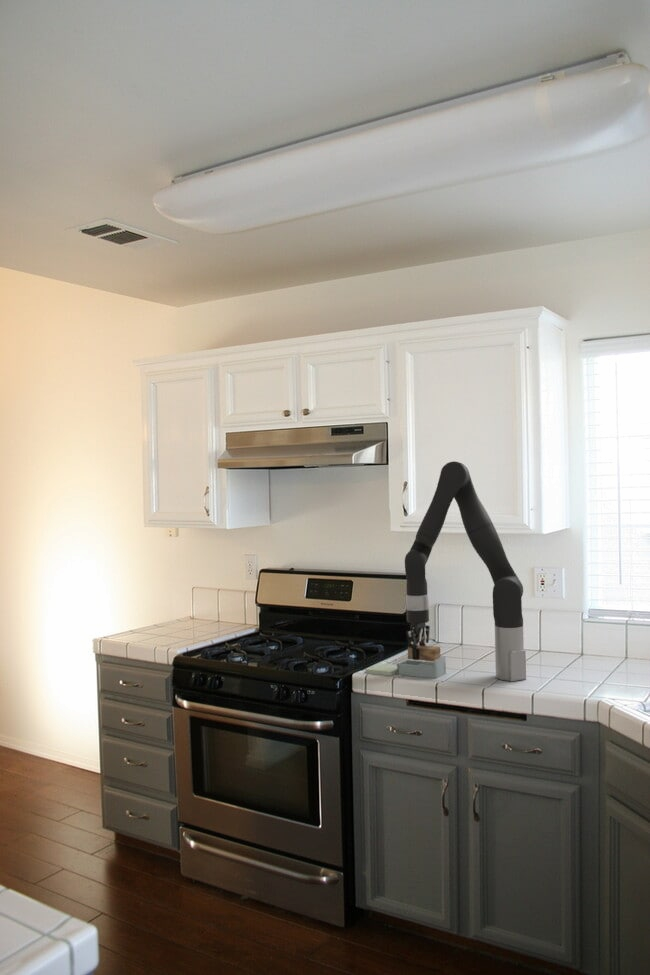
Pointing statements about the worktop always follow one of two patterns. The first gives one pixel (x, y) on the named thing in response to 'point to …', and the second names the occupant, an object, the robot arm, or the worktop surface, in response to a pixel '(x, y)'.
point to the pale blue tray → (423, 668)
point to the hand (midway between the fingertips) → (419, 658)
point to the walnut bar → (426, 653)
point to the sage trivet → (382, 669)
